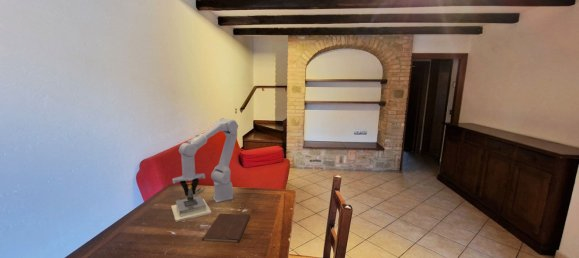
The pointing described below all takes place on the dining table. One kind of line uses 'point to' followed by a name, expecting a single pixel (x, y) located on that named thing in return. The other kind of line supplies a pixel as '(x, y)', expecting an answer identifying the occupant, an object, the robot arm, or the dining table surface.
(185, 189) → the robot arm
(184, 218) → the stand base
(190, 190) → the orange topped can
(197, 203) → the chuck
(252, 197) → the dining table surface
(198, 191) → the pliers
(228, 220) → the notebook
